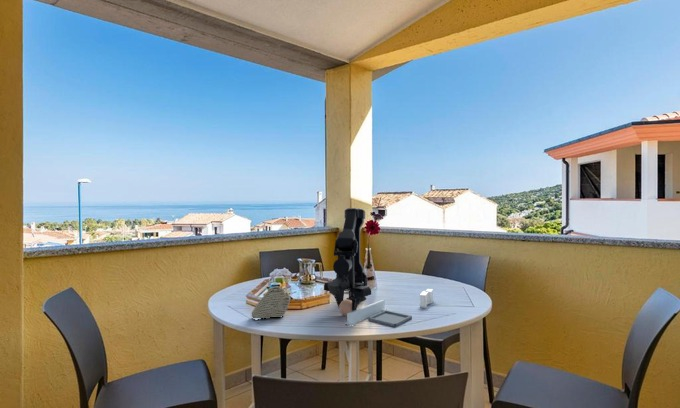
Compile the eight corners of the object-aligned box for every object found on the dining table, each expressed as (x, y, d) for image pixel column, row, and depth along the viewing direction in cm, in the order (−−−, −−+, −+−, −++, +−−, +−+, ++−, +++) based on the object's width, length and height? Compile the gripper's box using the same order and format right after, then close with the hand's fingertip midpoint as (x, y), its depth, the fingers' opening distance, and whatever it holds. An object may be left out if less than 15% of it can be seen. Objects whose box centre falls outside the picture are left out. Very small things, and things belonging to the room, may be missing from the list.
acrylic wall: (344, 324, 123) (344, 313, 123) (380, 309, 139) (380, 299, 139) (351, 326, 121) (351, 314, 121) (386, 310, 137) (386, 300, 137)
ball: (335, 316, 132) (335, 300, 132) (346, 312, 136) (345, 296, 136) (348, 319, 128) (348, 302, 128) (358, 315, 133) (358, 299, 133)
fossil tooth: (251, 320, 133) (290, 311, 138) (253, 324, 127) (294, 315, 132) (248, 289, 133) (287, 282, 138) (250, 292, 127) (290, 284, 132)
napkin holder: (423, 311, 138) (423, 296, 138) (405, 304, 148) (405, 290, 148) (451, 305, 145) (451, 291, 145) (432, 299, 155) (432, 286, 155)
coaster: (368, 320, 126) (368, 317, 126) (385, 312, 135) (385, 310, 135) (395, 327, 119) (395, 324, 119) (411, 318, 128) (411, 315, 128)
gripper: (313, 270, 132) (314, 312, 132) (352, 276, 120) (353, 322, 120) (333, 266, 141) (333, 305, 141) (371, 271, 129) (372, 314, 129)
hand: (347, 311), depth 132 cm, fingers closed on ball, 6 cm apart
